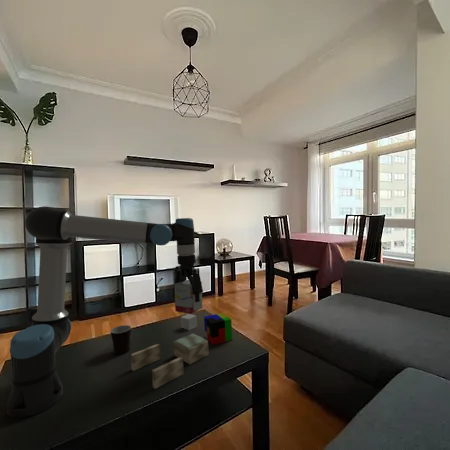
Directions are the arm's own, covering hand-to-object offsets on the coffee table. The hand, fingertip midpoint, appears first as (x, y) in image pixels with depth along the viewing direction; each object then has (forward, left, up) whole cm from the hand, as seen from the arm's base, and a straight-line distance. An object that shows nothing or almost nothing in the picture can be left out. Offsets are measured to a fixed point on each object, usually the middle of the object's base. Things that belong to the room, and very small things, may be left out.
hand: (189, 306), depth 114 cm
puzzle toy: (+19, +3, -21) cm, 28 cm away
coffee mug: (-17, +28, -21) cm, 39 cm away
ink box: (0, 0, -1) cm, 1 cm away
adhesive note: (+18, +25, -21) cm, 37 cm away
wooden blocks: (-9, 0, -21) cm, 23 cm away
